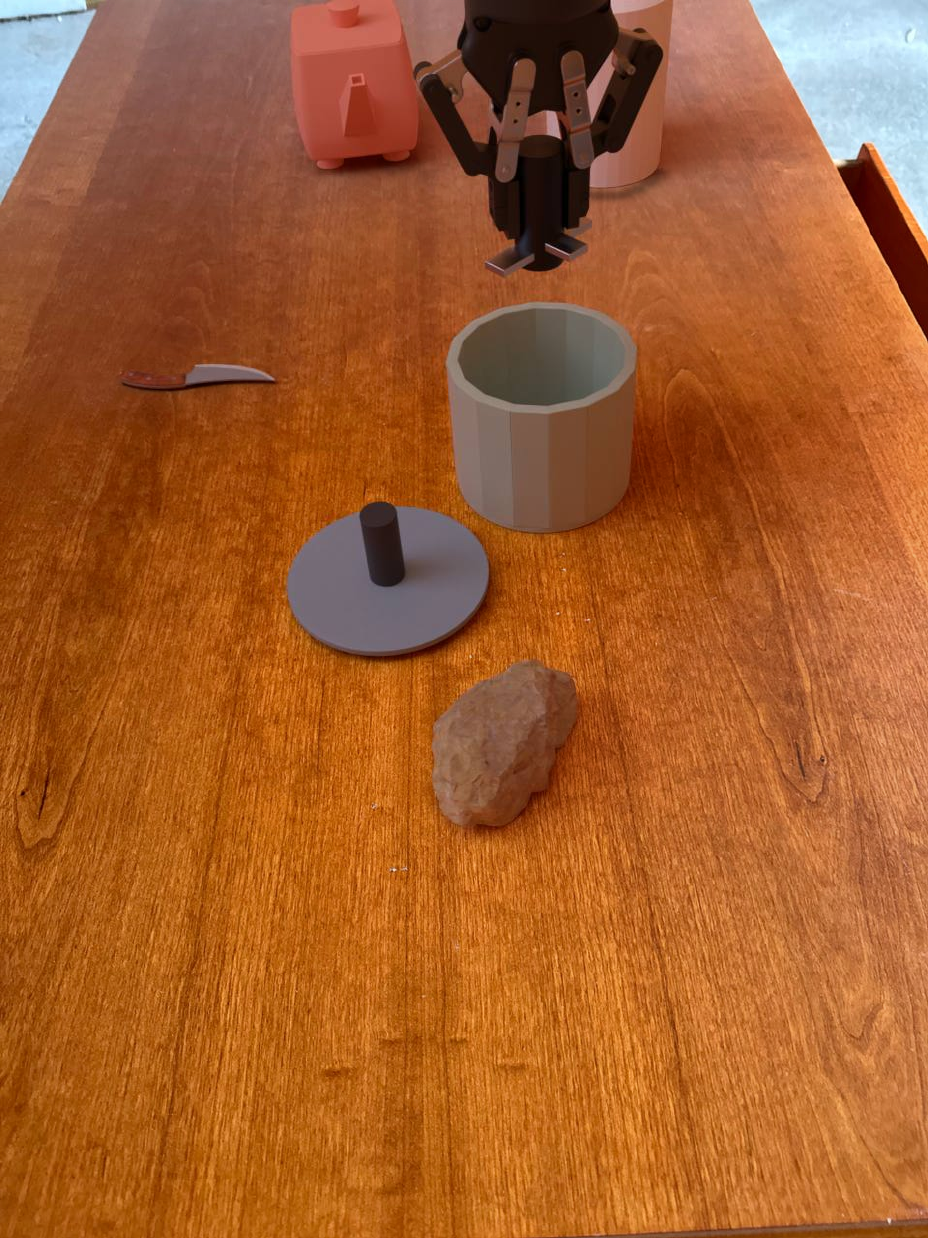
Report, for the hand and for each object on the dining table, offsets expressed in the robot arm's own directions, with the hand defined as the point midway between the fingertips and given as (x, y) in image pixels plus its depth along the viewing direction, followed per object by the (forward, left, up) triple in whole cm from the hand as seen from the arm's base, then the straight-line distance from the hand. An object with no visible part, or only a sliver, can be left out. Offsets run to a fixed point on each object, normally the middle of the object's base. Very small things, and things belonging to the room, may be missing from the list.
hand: (539, 226), depth 67 cm
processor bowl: (0, -2, -21) cm, 21 cm away
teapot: (+4, -59, -21) cm, 62 cm away
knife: (+23, -22, -21) cm, 38 cm away
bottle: (-19, -47, -21) cm, 55 cm away
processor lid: (+13, +6, -20) cm, 25 cm away
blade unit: (0, 0, -2) cm, 2 cm away
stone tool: (+8, +22, -21) cm, 32 cm away
